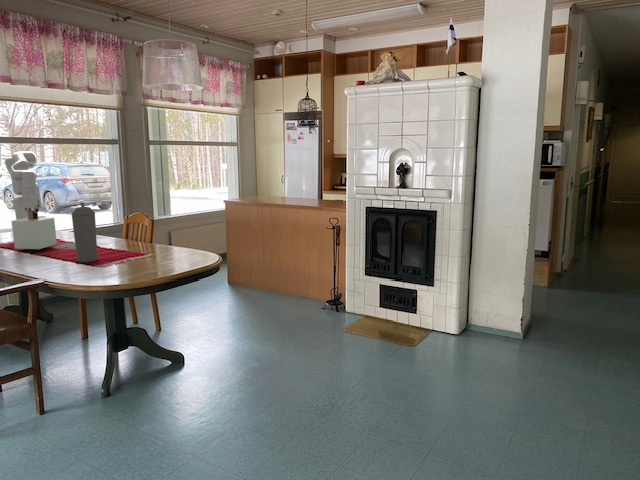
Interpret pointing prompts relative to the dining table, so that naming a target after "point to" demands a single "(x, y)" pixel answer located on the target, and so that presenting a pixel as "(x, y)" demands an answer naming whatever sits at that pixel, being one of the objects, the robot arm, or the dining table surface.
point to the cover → (34, 232)
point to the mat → (69, 245)
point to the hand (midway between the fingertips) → (33, 218)
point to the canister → (85, 233)
